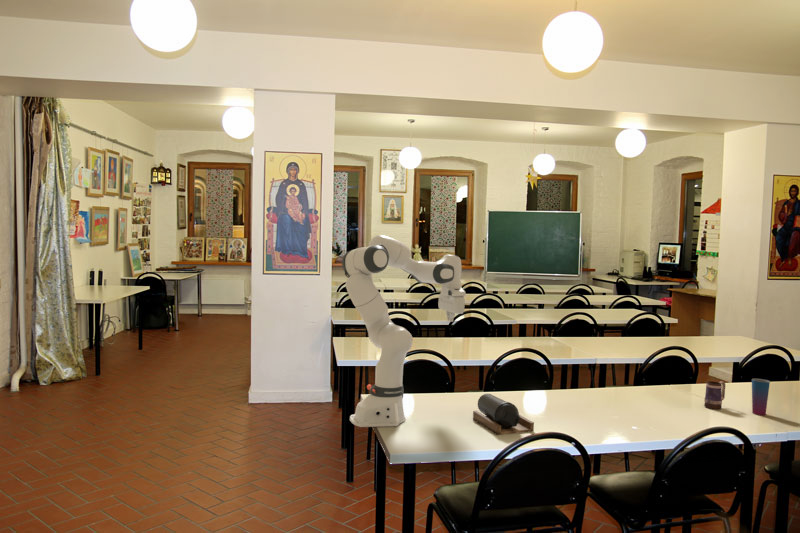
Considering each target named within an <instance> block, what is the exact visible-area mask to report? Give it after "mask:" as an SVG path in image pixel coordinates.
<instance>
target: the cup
mask: <svg viewBox="0 0 800 533" xmlns="http://www.w3.org/2000/svg"><path fill="white" fill-rule="evenodd" d="M770 384H771V382H770V380H768V379H762V378H752V379H751V397H752V398H751V404H752V407H751V408H752V414H753V415H756V416H766V414H767V407H768V400H769V391H770Z"/></svg>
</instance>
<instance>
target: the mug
mask: <svg viewBox="0 0 800 533" xmlns="http://www.w3.org/2000/svg"><path fill="white" fill-rule="evenodd" d="M705 386H706V387H705V395H704V396H705V397H704V408H707V409H709V410H714V411H716V410H717V411H718V410H722V404H723V401H724V399H725V395H726V382H724V381H723V380H721V381H714V380H712V381H711V380H708V381H706V385H705Z"/></svg>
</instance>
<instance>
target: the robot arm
mask: <svg viewBox="0 0 800 533" xmlns="http://www.w3.org/2000/svg"><path fill="white" fill-rule="evenodd" d="M387 266H389V267H392V268H395V269H400V270H402V271H403V272H406V273H408V274H410V275H411V276H412V278H414V280H415V281H416V282H417V283H420V284H434V285H441V289H440V290H441V291H440V293H439V295H438V302H437V304H438V310H439V309H440V310H443V311H445V315H446V320H447V322H450V323H451V322H452V323H453V322H454V318H455V316H456V315H460V314H461V315H462V314H464V311H465V304H466V303H465V300H466V299H465V297H466V294H467V293H466V291H465V289H463V288H462V282H461V278H462V260H461V258H460V257H459V256H458V255H456V254H455V255H454V254H444V255H443V257H442V258H440V259H439V260H437V261H428V260H427V261H426V260H415V259H413V258H412V252H411V249H410V247H409V246H408V245H406V244H405V243H403V242H402V241H400V240H398V239H395V238H392V237H389V236H386V235H384V234H383V235H382V234H377V235H375V236H373V237H372V238H371V239H370V241H369V242H368V246H365V247H364V246H362V247H358V248H355V249H350V250H348V251H347V252H346V253H344V254H343V256H342V258H341V267H342V269H343V272H344V275H345V277H346V278H347V279H346V280H345V289H346V291H347V294H348V296H349V298H350V300H351V302H352V304H353V305H354V307H355V310H356V311H357V312H358V314H359V315H360V317H361V319H362V320H363V322H364V325H365V327H366V330H367V333H368V334H367V335H368V339H369V340H370V342H371V343H372V344H373V345H374V346H375V347H377V348H378V349H381V350H380V351H381V354H380V356H379V360H378V362H377V363H376V365H375V372H374V373H375V376H374V377H375V380H374V381H375V382H374V384H373V385H372V384H367V385H366V388H367V390H368V391H370V392H369V394H368V395H367V396H366V397H365V398H363V399H362V400H361V401H360V402H358V403H357V405H356V408H355V413H354V414H351V415H350V416H349V421H350V423H351V424H353V425H354V426H356V427H358V428H373V427H375V428H378V427H382V428H383V427H398V426H399V425H400V424H401V423H404V422H405V421H406V415H405V410H404V403H403V398H404V384H403V378H404V377H403V376H404V364H405V360H406V358H407V354H408V352H410V350H411V349H412V346H413V345H414V342H413V341H414V339H413V336H412V335H413V334H412V333H410V331H408V330H407V328H405V327H403V326H400V325H397V324H395V323H394V322H393V321H392V320H391V317H390V315H389V306H388V305H387V303H386V302H385V300H384V298H383V295H381V293H380V291H379V289H378V288H377V286H376V285H375V284H374V282H373V278H372V276H373V275H374V274H378V273H380V272H383V271H384V270H385V269H386V268H387Z"/></svg>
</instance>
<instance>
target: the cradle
mask: <svg viewBox="0 0 800 533" xmlns="http://www.w3.org/2000/svg"><path fill="white" fill-rule="evenodd" d="M519 416H520V420H519V422H518V424H517V426H515V427H512V428H509V429H503V428H501V425H499V424H497V423H496V422H494V421H492V420H491V419H490V418H489V417H487V416H486V415H485V414H483V413H482V412H480V411H478V410H473V413H472V419H473V421H474V422H476V421H477V423H478V424H479V425H481V426H482V427H484V428H486V429H487V430H489V431H490V432H491V433H493V434H495V435H496V436H501V435H502V436H504V435H512V434H513V435H514V434H523V433H532V432H534V428H535V422H534V421H532V420H530V419H528V418H526V417H525V416H522V415H521V414H519Z"/></svg>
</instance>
